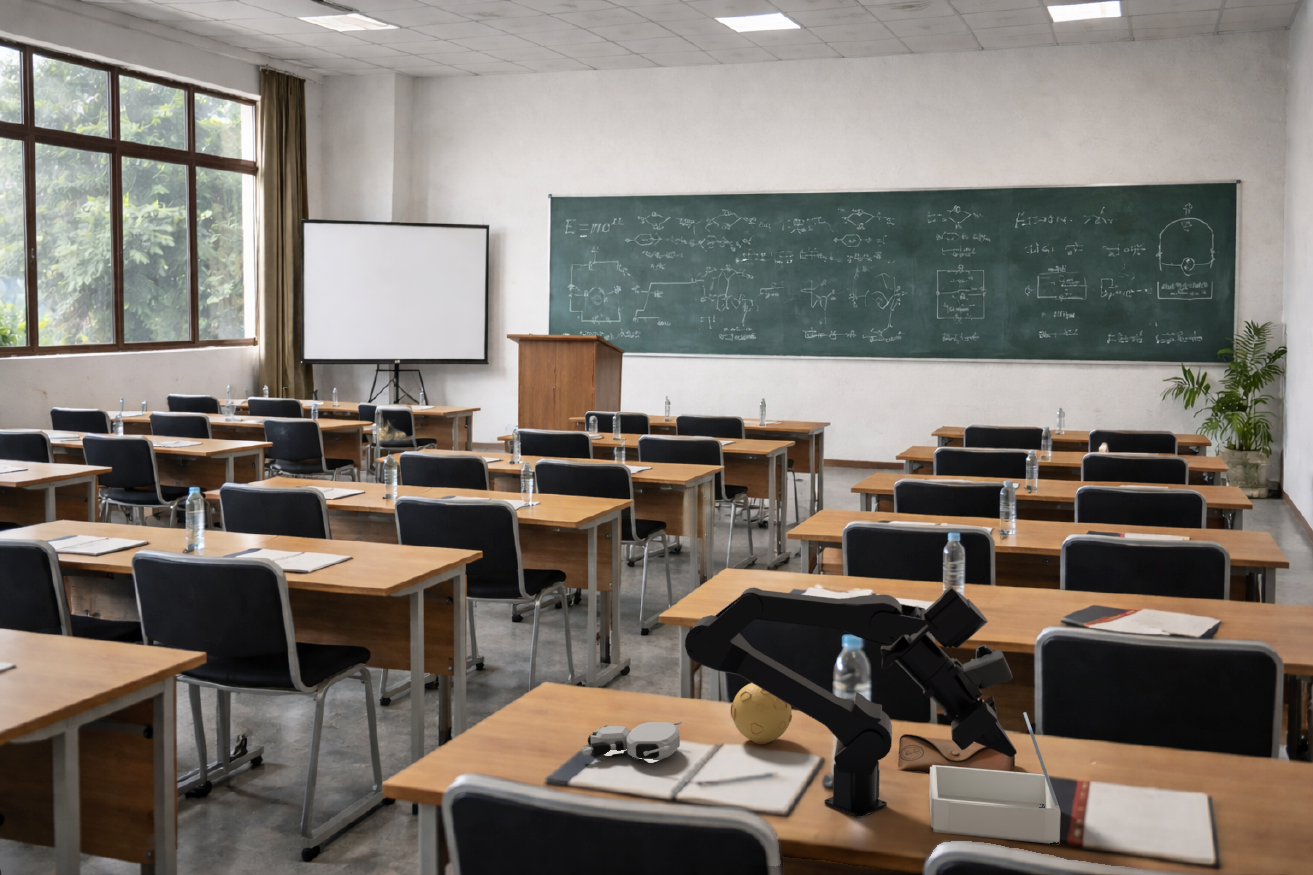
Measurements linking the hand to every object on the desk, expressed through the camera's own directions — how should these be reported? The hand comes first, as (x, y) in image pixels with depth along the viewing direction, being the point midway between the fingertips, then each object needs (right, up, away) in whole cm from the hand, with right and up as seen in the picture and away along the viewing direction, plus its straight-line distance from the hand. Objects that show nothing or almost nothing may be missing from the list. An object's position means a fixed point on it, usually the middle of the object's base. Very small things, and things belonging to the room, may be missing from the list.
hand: (1014, 754), depth 151 cm
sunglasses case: (-2, -9, +21) cm, 22 cm away
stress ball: (-32, -7, +32) cm, 45 cm away
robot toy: (-53, -8, +25) cm, 59 cm away
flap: (+5, -5, -1) cm, 7 cm away
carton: (-3, -9, +1) cm, 10 cm away
